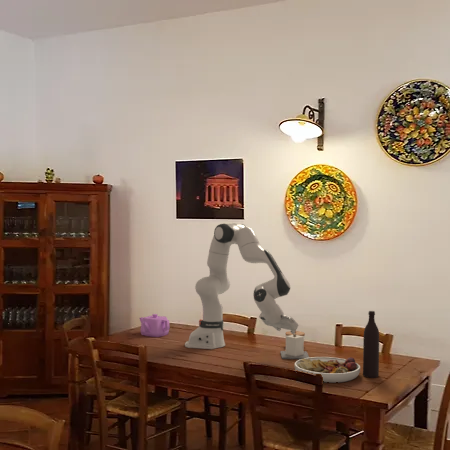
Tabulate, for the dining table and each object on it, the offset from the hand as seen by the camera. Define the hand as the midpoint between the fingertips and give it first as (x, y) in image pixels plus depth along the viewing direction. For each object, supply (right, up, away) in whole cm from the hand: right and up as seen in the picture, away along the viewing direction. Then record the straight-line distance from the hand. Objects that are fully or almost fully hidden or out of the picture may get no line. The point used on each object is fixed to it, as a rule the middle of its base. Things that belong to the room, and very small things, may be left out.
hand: (286, 331), depth 312 cm
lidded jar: (+7, -13, +26) cm, 30 cm away
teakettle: (-75, -12, +55) cm, 94 cm away
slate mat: (+5, -14, +5) cm, 15 cm away
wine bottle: (+36, -15, -32) cm, 50 cm away
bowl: (+16, -15, -30) cm, 38 cm away
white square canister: (+5, -13, +5) cm, 15 cm away
